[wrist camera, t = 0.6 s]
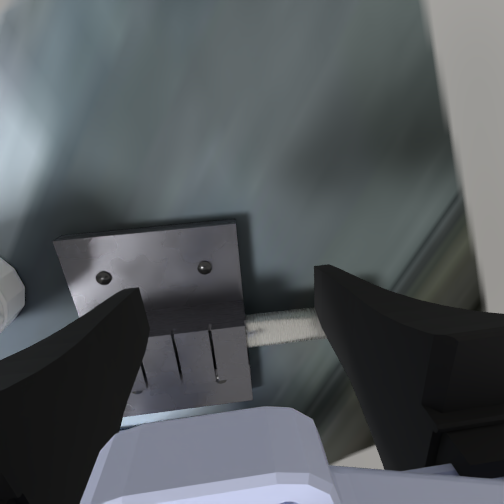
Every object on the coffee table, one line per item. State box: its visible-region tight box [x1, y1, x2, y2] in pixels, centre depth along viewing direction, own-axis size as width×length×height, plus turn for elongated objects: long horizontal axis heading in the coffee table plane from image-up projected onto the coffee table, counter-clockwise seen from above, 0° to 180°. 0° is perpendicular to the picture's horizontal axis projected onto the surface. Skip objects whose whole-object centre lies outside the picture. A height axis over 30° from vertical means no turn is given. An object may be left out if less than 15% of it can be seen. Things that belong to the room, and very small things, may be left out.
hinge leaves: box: [52, 219, 253, 417], centre depth 22 cm, size 12×16×4 cm
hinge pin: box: [174, 307, 327, 354], centre depth 22 cm, size 14×4×4 cm, turn 94°
